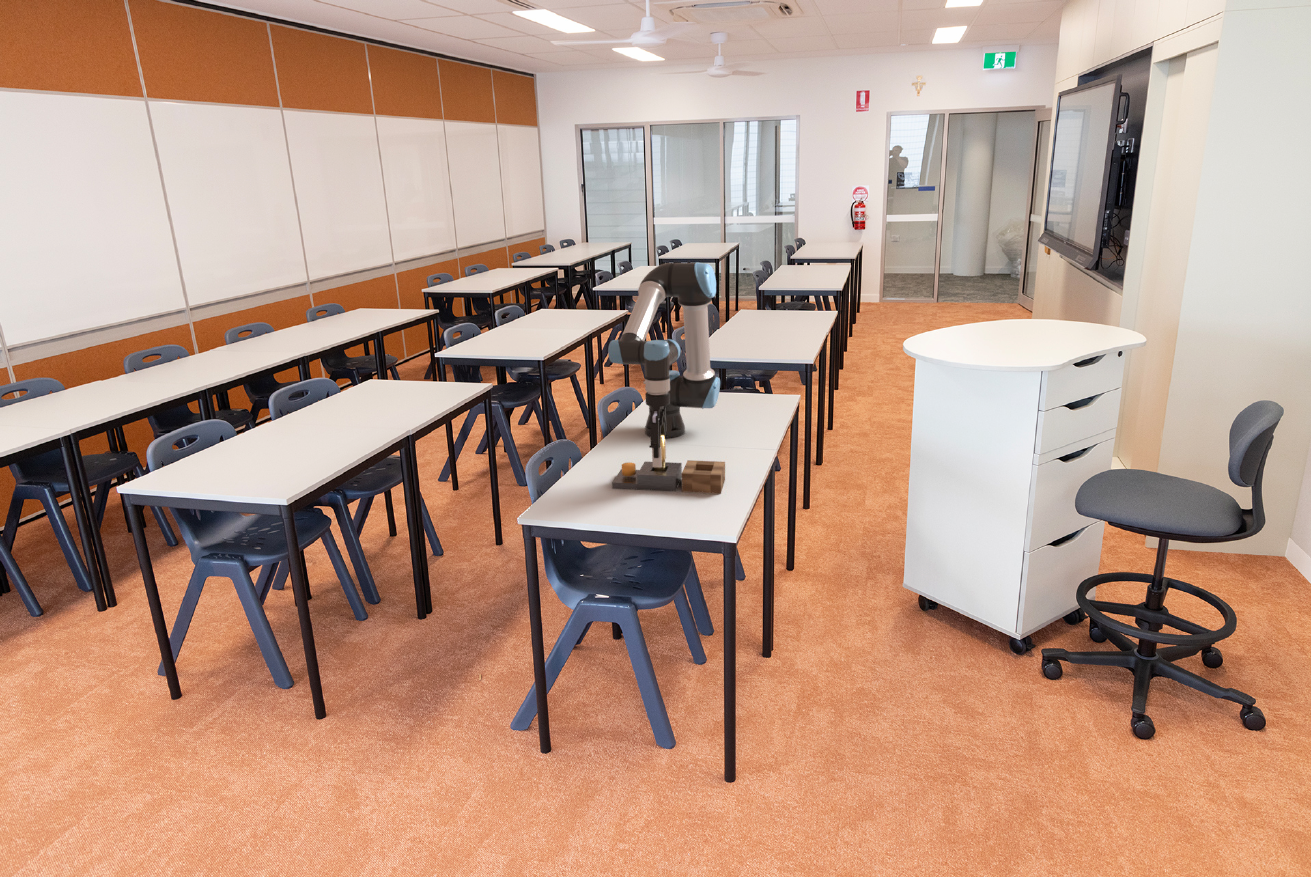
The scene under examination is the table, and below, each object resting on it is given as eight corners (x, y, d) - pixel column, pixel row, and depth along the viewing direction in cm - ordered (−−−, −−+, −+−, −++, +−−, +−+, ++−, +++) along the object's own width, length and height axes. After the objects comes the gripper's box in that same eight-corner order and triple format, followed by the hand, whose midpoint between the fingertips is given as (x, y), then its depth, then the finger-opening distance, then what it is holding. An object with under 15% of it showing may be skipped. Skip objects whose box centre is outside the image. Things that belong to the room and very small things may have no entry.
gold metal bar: (655, 481, 253) (654, 433, 248) (666, 481, 252) (665, 433, 247) (653, 485, 250) (651, 437, 245) (664, 485, 249) (663, 437, 244)
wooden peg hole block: (687, 477, 255) (687, 460, 253) (725, 479, 253) (725, 461, 251) (681, 491, 244) (681, 473, 242) (720, 493, 242) (720, 475, 240)
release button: (623, 471, 254) (623, 462, 254) (637, 471, 254) (636, 462, 253) (620, 475, 250) (620, 466, 249) (634, 476, 250) (633, 467, 249)
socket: (621, 474, 259) (620, 460, 258) (681, 477, 256) (681, 462, 254) (612, 488, 248) (611, 473, 247) (675, 491, 244) (675, 476, 243)
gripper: (651, 383, 252) (653, 451, 259) (638, 400, 233) (641, 473, 240) (675, 383, 250) (676, 452, 257) (663, 400, 232) (665, 474, 239)
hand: (659, 462), depth 249 cm, fingers open, 7 cm apart
